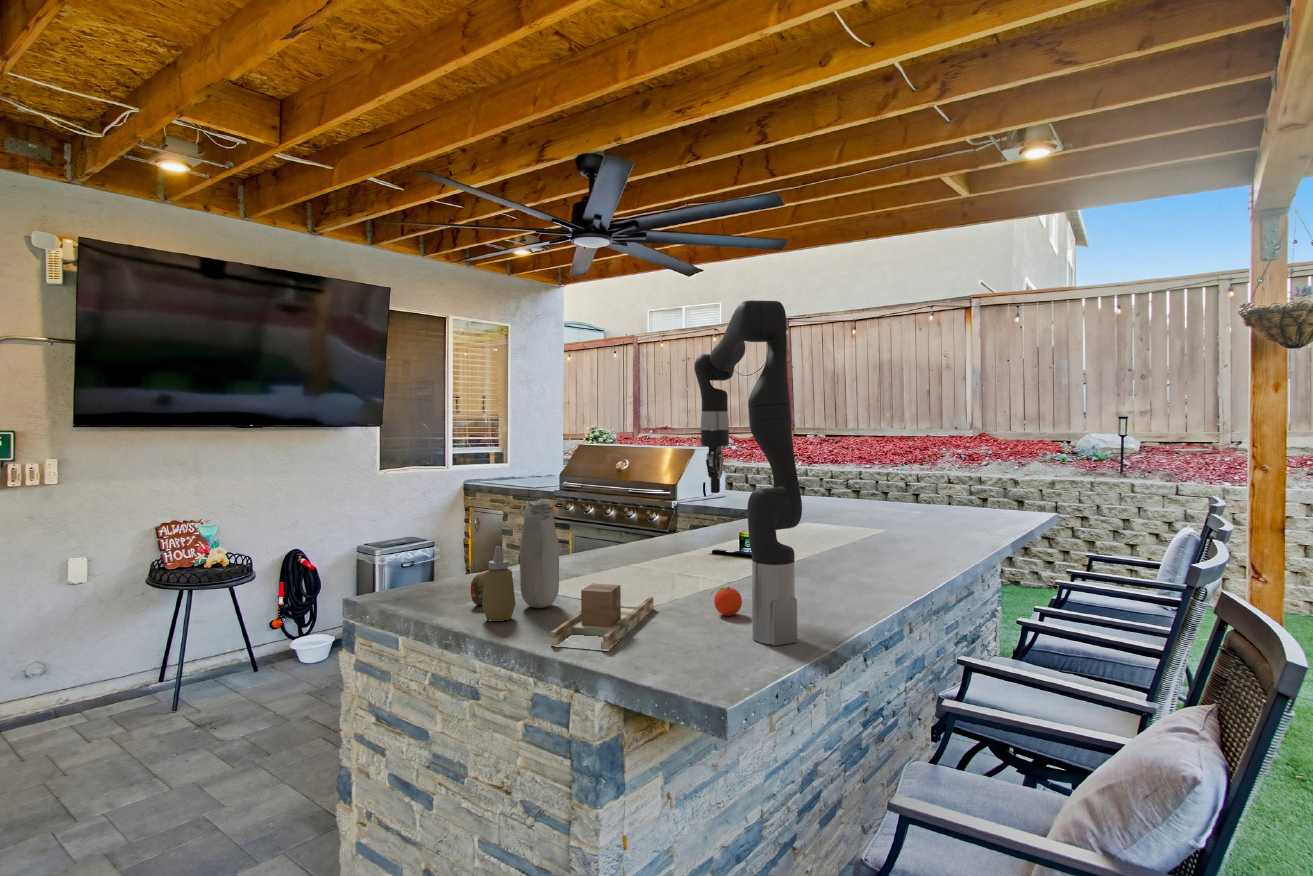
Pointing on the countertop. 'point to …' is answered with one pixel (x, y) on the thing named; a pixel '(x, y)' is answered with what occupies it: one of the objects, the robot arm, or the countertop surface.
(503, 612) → the squeeze bottle
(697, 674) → the countertop surface
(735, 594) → the clementine
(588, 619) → the walnut block
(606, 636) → the track
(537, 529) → the grey vase
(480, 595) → the tin
